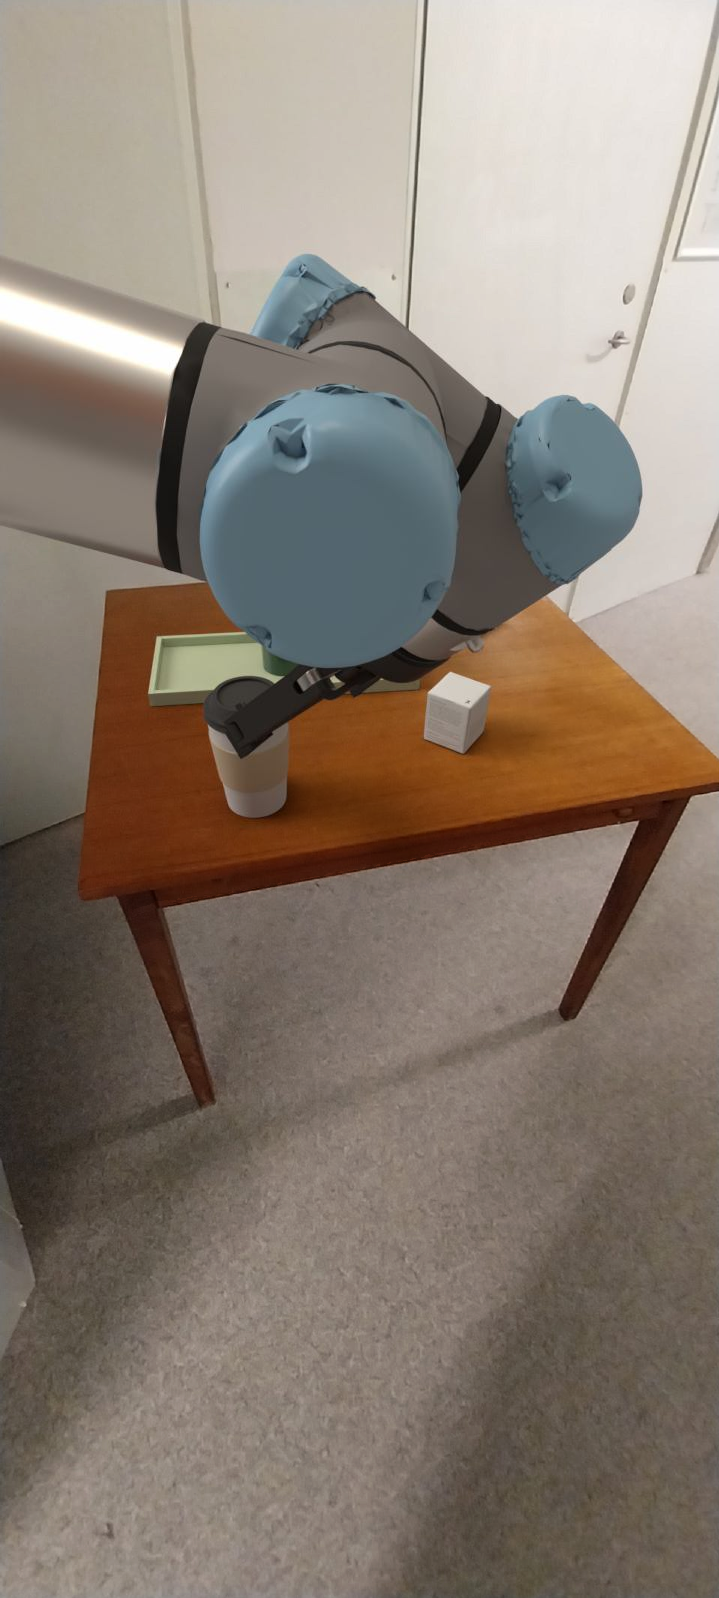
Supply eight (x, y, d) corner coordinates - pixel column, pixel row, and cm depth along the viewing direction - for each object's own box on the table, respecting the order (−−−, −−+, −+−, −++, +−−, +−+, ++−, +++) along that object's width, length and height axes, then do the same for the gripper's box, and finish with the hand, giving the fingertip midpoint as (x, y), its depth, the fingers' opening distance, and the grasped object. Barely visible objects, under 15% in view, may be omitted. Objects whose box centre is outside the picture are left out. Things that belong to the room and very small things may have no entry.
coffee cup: (208, 784, 80) (189, 676, 69) (280, 764, 82) (272, 659, 72) (231, 834, 74) (213, 724, 63) (307, 811, 76) (302, 702, 66)
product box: (484, 732, 88) (493, 685, 83) (463, 756, 85) (471, 708, 80) (444, 716, 91) (450, 670, 86) (421, 738, 87) (426, 691, 82)
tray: (150, 706, 91) (147, 693, 90) (159, 648, 102) (156, 636, 101) (419, 689, 96) (420, 676, 94) (399, 635, 107) (399, 623, 105)
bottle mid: (263, 677, 96) (255, 581, 86) (262, 654, 100) (253, 561, 91) (308, 675, 97) (304, 579, 87) (304, 652, 101) (300, 559, 91)
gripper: (303, 741, 38) (204, 811, 56) (556, 599, 50) (408, 694, 68) (233, 625, 37) (156, 734, 55) (507, 511, 50) (370, 631, 68)
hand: (295, 712), depth 62 cm, fingers open, 13 cm apart
